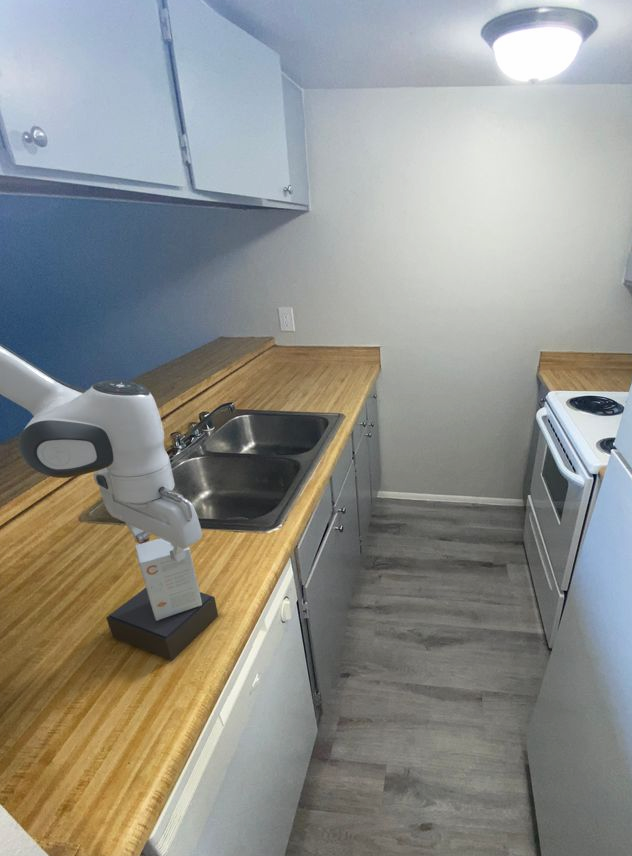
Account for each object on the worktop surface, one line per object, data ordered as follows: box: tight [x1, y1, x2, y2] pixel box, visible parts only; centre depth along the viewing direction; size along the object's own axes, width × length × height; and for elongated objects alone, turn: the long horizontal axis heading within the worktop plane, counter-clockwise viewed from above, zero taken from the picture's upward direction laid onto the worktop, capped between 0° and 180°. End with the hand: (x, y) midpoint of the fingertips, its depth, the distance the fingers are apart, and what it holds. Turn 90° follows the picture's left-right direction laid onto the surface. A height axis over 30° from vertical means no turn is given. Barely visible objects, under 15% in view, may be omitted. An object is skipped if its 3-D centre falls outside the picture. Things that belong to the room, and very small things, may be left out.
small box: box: [135, 538, 202, 621], centre depth 86 cm, size 8×6×13 cm
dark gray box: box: [105, 587, 219, 662], centre depth 89 cm, size 14×12×5 cm
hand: (160, 550), depth 83 cm, fingers open, 8 cm apart
